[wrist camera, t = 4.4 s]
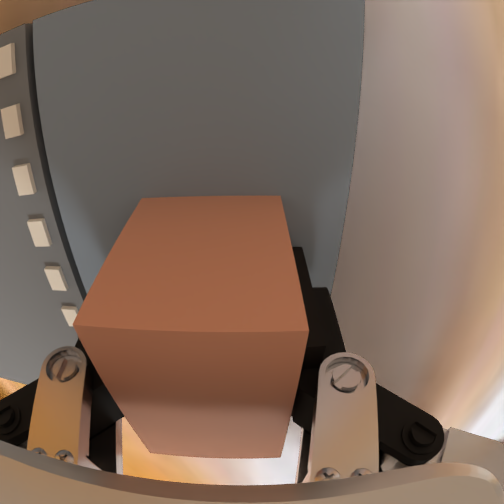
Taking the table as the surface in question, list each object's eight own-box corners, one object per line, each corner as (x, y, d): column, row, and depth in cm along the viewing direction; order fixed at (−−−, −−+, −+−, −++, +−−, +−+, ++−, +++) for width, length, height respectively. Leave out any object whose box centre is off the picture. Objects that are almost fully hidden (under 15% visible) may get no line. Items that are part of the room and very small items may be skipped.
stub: (340, 3, 8) (487, -48, 2) (298, 373, 18) (312, 492, 12) (69, 22, 8) (-103, 36, 1) (144, 371, 18) (123, 485, 12)
